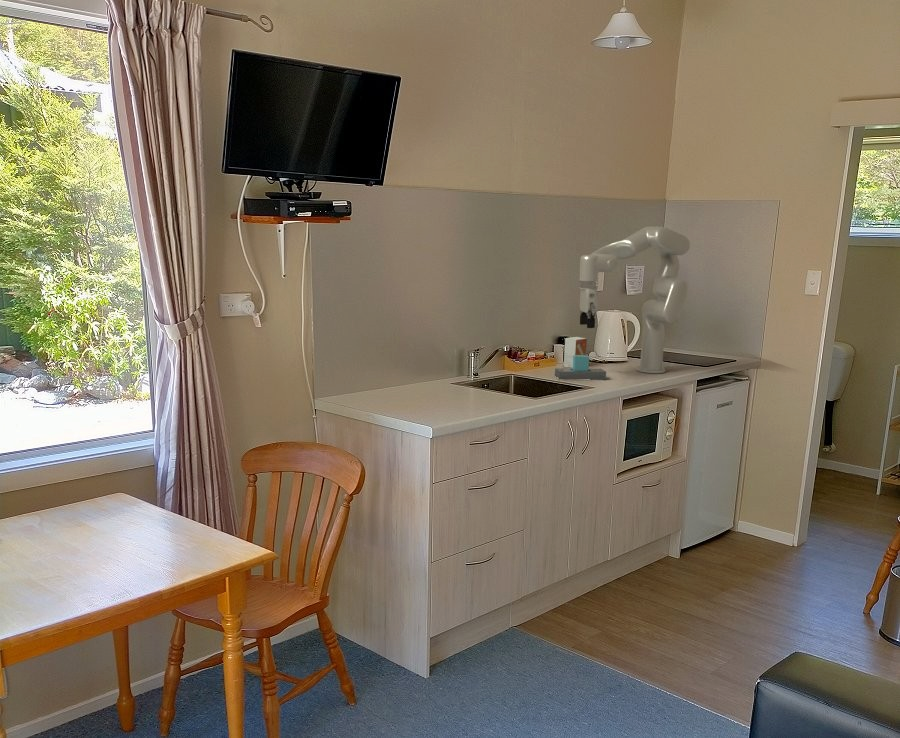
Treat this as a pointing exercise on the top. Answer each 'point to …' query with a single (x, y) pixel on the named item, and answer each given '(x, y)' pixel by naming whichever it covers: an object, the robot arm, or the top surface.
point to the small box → (573, 349)
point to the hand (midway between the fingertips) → (587, 326)
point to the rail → (580, 374)
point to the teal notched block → (580, 363)
